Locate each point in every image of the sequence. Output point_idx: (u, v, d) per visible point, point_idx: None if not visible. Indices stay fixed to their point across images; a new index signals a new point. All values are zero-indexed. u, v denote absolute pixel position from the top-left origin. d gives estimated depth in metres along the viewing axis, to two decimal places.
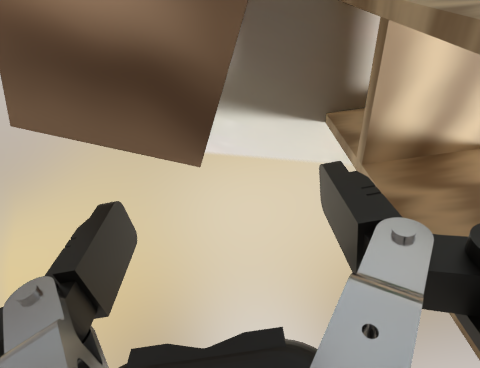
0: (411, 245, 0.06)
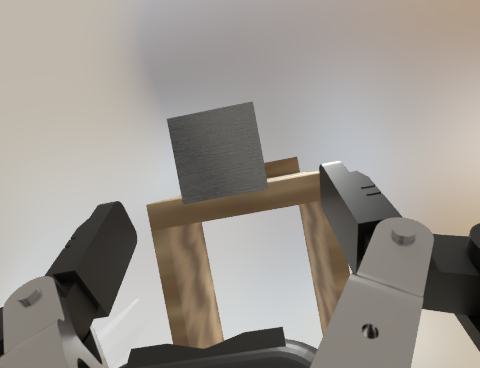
0: (411, 245, 0.06)
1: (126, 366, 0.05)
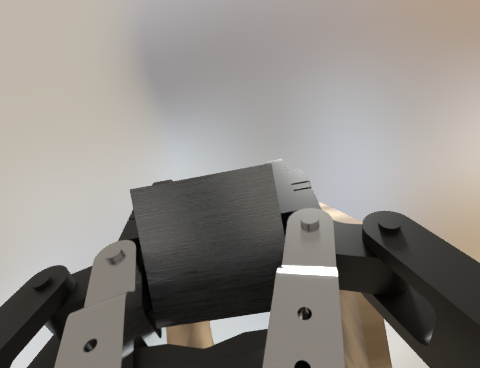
0: (312, 231, 0.07)
1: None
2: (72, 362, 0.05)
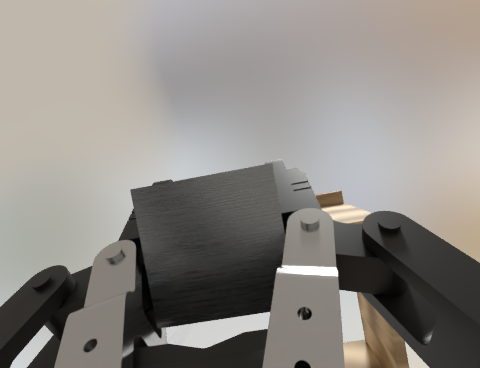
0: (312, 231, 0.07)
1: None
2: (72, 362, 0.05)
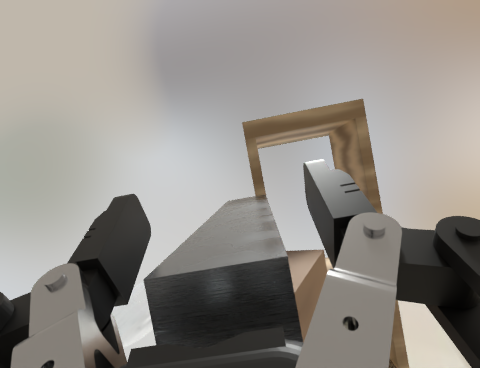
0: (380, 238, 0.07)
1: (126, 366, 0.05)
2: None
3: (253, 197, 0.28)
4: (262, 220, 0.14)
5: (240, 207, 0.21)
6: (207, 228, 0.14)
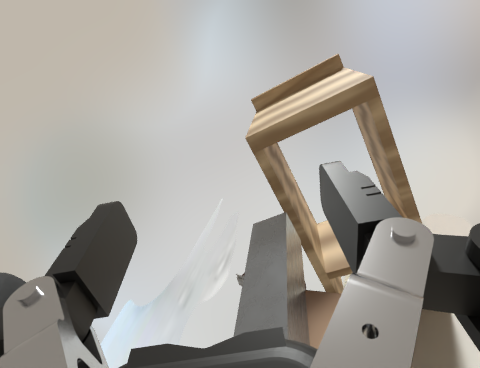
0: (411, 245, 0.06)
1: (126, 366, 0.05)
2: None
3: (275, 222, 0.30)
4: None
5: (263, 270, 0.24)
6: None
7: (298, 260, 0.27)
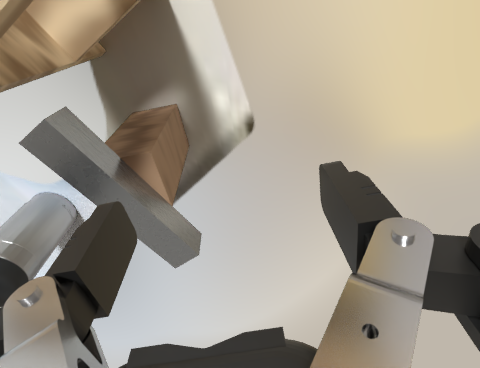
0: (411, 245, 0.06)
1: (126, 366, 0.05)
2: None
3: (47, 136, 0.27)
4: (160, 226, 0.33)
5: (100, 190, 0.30)
6: (140, 235, 0.34)
7: (97, 145, 0.30)
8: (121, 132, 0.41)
